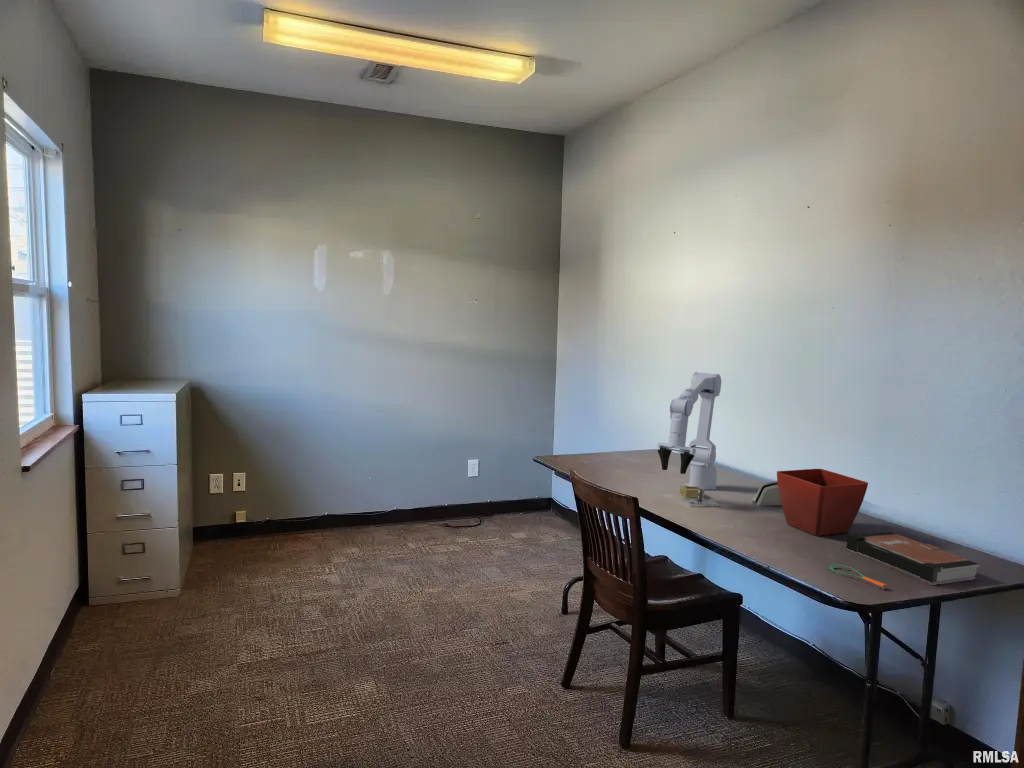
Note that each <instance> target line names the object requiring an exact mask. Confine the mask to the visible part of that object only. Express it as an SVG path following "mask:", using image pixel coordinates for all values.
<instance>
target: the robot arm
mask: <svg viewBox="0 0 1024 768" xmlns="http://www.w3.org/2000/svg"><path fill="white" fill-rule="evenodd" d="M690 384H691V385H690V386H689V387H687V388H685V389H683V391H682V392H681V393H680V394H679V396H678V397H677V398H674V399H672V400H671V401H670V405H669V412H670V413H669V418H670V425H669V426H670V427H669V436H668V443H665V442H657V447H656V448H657V453H658V456H659V459H660V464H661V470H662V471H667V470H668V467H669V462H670V461H669V460H670V456H671V453H672V451H673V452H679V453H680V454H679V456H680V469H679V472H680V474H681V475H686V473H687V470H688V467H689V465H690V468H689V469H690V470H689V482H686V483H684V486H698V487H700V488H702V489H704V490H717V475H718V471H717V468H716V466H715V465H714V464H715V462H716V460H717V459H716V458H717V452H716V451H717V448H716V447H717V446H716V444H715V443H714V442H713V441H712V440H711V439H710V438H711V437H710V436H711V428H712V423H713V422H712V421H713V414H714V408H715V407H714V405H715V400H716V397H718V396H720V394H721V389H722V378H721V375H720V373H708V372H707V373H706V372H698V371H695V372H693V374H692V376H691V381H690ZM699 395H700V398H701V400H700V407H699V416H698V422H697V431H696V438H694V439H692V440H691V441H689V444H688V446H686V442H687V433H688V423H689V417H690V416H691V414H692V412H693V408H694V405H695V403H697V402H698V400H699Z"/></svg>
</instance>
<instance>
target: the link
mask: <svg viewBox="0 0 1024 768" xmlns="http://www.w3.org/2000/svg"><path fill="white" fill-rule="evenodd" d="M698 489H702V488H700V487H698V486H687V485H684V486H683V485H680V486H679V495H680V494H681V495H680V496H681V497H683V496H684V497H683V498H697V497H698ZM702 490H703V495H702V498H705V489H702Z"/></svg>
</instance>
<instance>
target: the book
mask: <svg viewBox="0 0 1024 768" xmlns="http://www.w3.org/2000/svg"><path fill="white" fill-rule="evenodd" d="M846 548H848V549H850V550H853V551H855V552H860V553H862V554H865V555H868V556H870V557H873V558H875V559H878V560H880V561H882V562H885V563H888V564H890V565H892V566H895V567H898V568H900V569H903V570H905V571H908V572H910V573H912V574H915V575H917V576H920V578H922V579H925V580H927V581H930V582H932V583H933V582H937V581H942V580H950V579H955V578H962V577H969V576H975V575H976V576H977V568H980V567H981V566H980V565H981V564H980V563H977V562H975V561H972V560H969V559H967V558H963V557H960V556H957V555H956V554H953V553H950V552H947V551H945V550H941V549H939V547H938V546H937V545H934V544H929V543H922V542H919V541H917V540H913V539H912V538H910V537H909V538H908V537H906V536H904V535H900V534H897V533H894V532H891V531H888V532H878V533H877V532H876V533H868V534H867V533H865V534H858V533H850V534H847V538H846V547H845V549H846Z"/></svg>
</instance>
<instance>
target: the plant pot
mask: <svg viewBox="0 0 1024 768" xmlns="http://www.w3.org/2000/svg"><path fill="white" fill-rule="evenodd" d="M776 481H777V482H778V489H779V495H780V500H781V504H782V506H781V507H782V511H783V514H784V518H785V520H786V523H787V525H789V526H791V527H793V528H795V527H796V529H798V530H800V529H801V530H800V531H803V532H805V531H806V532H805V533H808V532H809V533H808V534H810V533H811V535H812V534H814V535H813V536H815V535H816V536H815V537H823V536H822V535H826V536H832V535H831V534H835V535H838V534H837V533H843V534H846V533H845V532H847V533H848V532H849V530H850V529H851V527H852V526H853V524H854V522H855V520H856V518H857V515H858V513H860V512H859V511H860V510H861V506H862V505H863V502H864V499H865V496H866V493H867V490H868V486H869V482H867V481H865V480H861V479H858V478H854V477H850V476H847V475H844V474H840V473H838V472H833V471H830V470H827V469H823V468H805V469H793V470H778V471H776ZM829 534H830V535H829Z"/></svg>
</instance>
